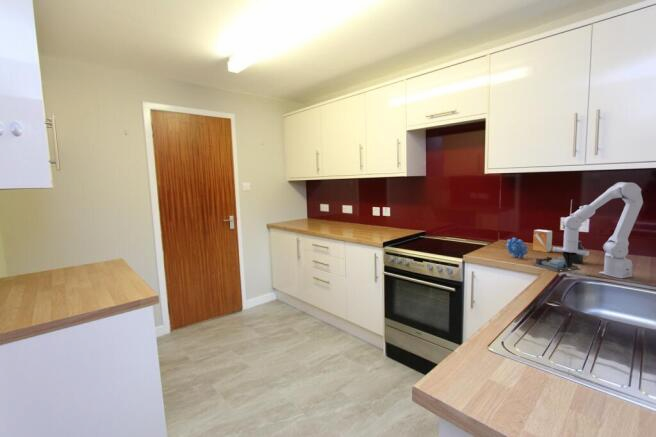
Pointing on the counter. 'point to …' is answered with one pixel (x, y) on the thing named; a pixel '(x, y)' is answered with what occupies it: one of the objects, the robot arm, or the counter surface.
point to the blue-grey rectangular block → (557, 262)
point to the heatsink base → (549, 266)
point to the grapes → (516, 247)
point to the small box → (542, 240)
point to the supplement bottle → (579, 257)
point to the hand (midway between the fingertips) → (569, 267)
